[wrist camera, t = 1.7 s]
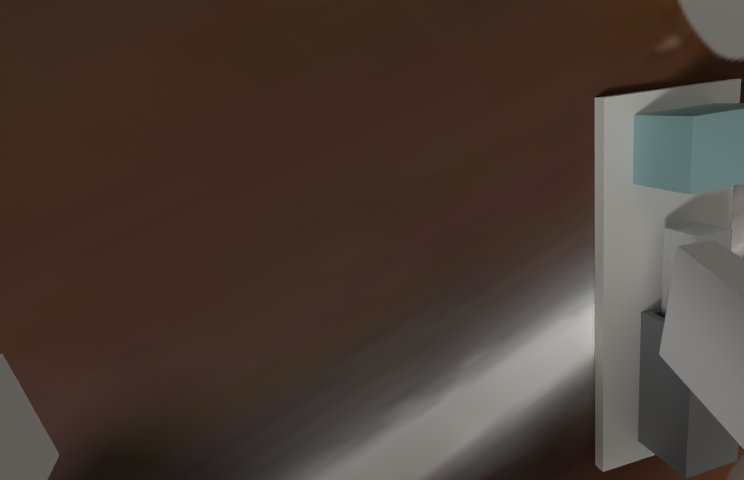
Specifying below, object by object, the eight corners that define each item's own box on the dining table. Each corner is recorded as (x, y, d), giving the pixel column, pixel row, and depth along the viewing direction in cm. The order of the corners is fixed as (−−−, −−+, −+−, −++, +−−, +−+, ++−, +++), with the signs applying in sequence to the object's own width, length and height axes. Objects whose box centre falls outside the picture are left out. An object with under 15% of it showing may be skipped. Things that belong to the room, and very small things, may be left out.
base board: (707, 428, 50) (716, 434, 49) (595, 464, 47) (603, 471, 46) (729, 79, 41) (741, 78, 40) (594, 97, 38) (604, 97, 38)
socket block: (709, 169, 42) (773, 178, 37) (632, 183, 40) (689, 194, 35) (713, 103, 40) (780, 103, 35) (634, 115, 39) (693, 116, 34)
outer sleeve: (685, 425, 47) (737, 460, 43) (637, 440, 46) (685, 478, 42) (692, 298, 44) (748, 321, 39) (641, 311, 43) (693, 336, 38)
